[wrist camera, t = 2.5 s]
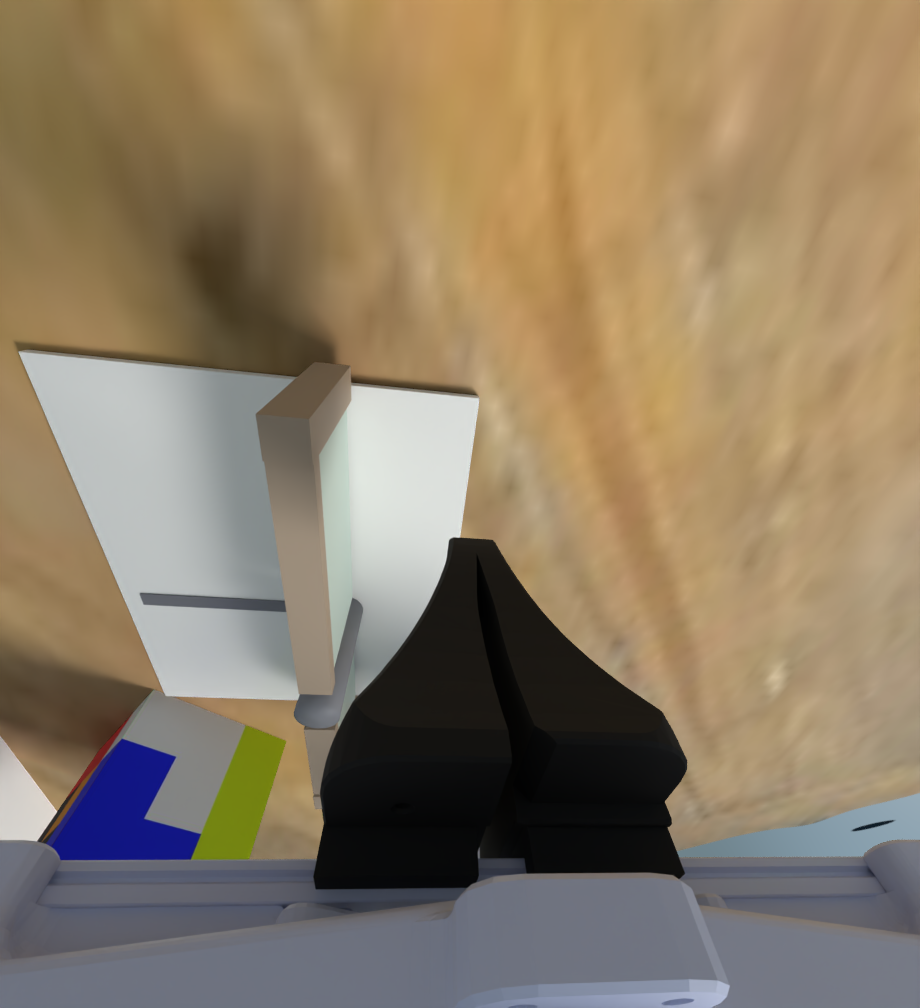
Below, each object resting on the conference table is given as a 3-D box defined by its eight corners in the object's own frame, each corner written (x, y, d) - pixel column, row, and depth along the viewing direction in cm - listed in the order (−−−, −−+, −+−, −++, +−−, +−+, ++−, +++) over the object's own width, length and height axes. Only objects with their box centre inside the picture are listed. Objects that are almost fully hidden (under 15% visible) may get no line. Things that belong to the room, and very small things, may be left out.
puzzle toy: (154, 688, 28) (26, 883, 19) (286, 740, 31) (229, 921, 23) (99, 750, 31) (-29, 937, 23) (223, 789, 35) (154, 962, 27)
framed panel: (356, 596, 23) (331, 697, 18) (330, 595, 23) (297, 696, 17) (350, 365, 16) (308, 419, 11) (314, 361, 16) (255, 413, 11)
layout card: (478, 395, 18) (479, 399, 17) (436, 699, 29) (436, 706, 29) (27, 349, 16) (16, 352, 16) (169, 690, 28) (164, 697, 27)
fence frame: (363, 592, 24) (339, 702, 18) (365, 696, 29) (346, 809, 23) (328, 590, 23) (291, 701, 18) (336, 696, 29) (309, 808, 23)
